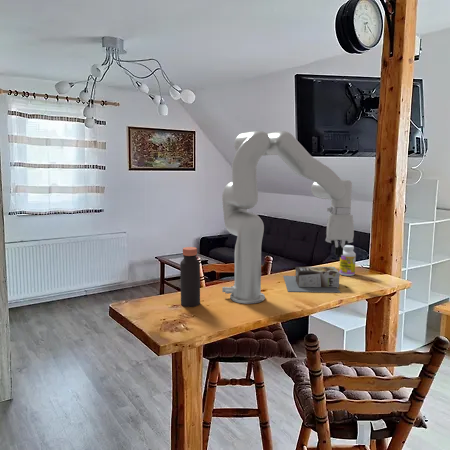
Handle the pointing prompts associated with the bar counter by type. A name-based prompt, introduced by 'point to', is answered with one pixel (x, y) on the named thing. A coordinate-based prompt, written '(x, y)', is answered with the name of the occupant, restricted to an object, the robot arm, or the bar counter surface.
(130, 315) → the bar counter surface
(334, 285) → the coffee box
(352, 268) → the supplement bottle
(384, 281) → the bar counter surface
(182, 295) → the black water bottle
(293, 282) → the mat
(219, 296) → the bar counter surface
